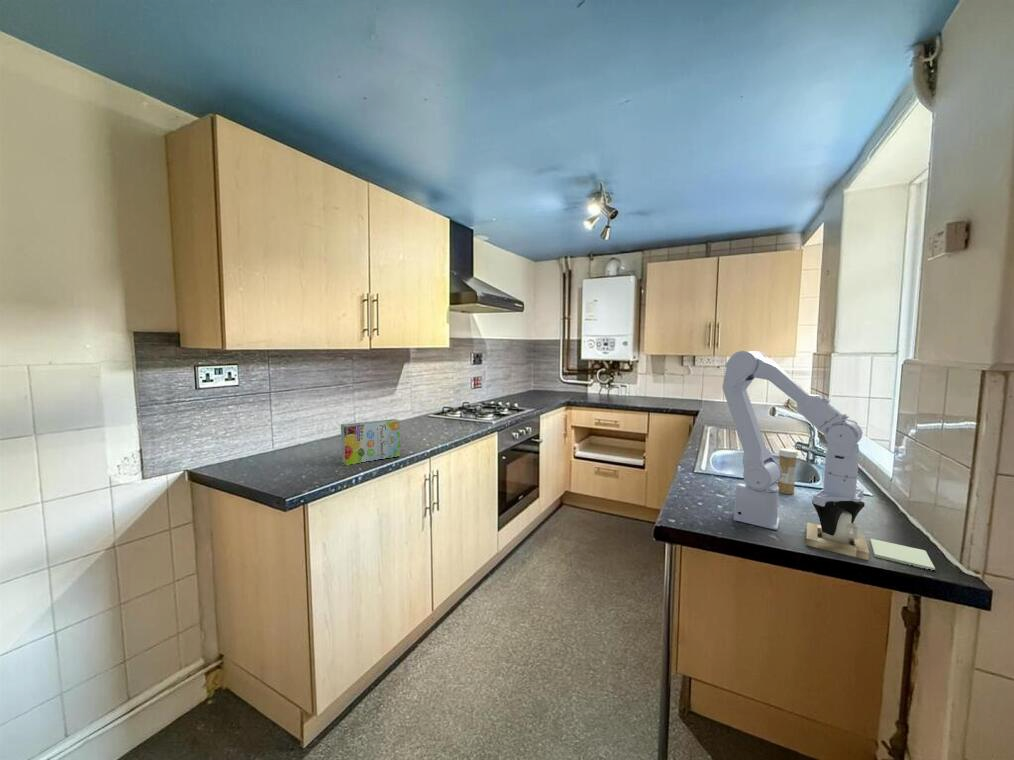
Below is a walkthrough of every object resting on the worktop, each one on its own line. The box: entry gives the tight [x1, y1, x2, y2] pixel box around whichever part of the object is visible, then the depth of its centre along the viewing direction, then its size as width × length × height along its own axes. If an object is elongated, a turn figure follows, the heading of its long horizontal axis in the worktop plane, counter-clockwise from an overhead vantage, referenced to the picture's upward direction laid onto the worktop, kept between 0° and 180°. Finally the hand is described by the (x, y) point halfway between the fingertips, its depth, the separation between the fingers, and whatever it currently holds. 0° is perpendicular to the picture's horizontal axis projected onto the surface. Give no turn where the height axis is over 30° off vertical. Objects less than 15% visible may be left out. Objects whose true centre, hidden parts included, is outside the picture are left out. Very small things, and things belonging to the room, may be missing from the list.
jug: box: [820, 511, 863, 545], centre depth 91 cm, size 7×5×7 cm
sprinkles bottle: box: [777, 447, 798, 495], centre depth 125 cm, size 5×5×14 cm
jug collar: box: [805, 522, 870, 561], centre depth 92 cm, size 11×11×2 cm
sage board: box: [869, 538, 936, 571], centre depth 87 cm, size 9×9×1 cm
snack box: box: [340, 418, 401, 466], centre depth 156 cm, size 21×6×15 cm, turn 125°
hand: (835, 531), depth 92 cm, fingers closed on jug, 5 cm apart
